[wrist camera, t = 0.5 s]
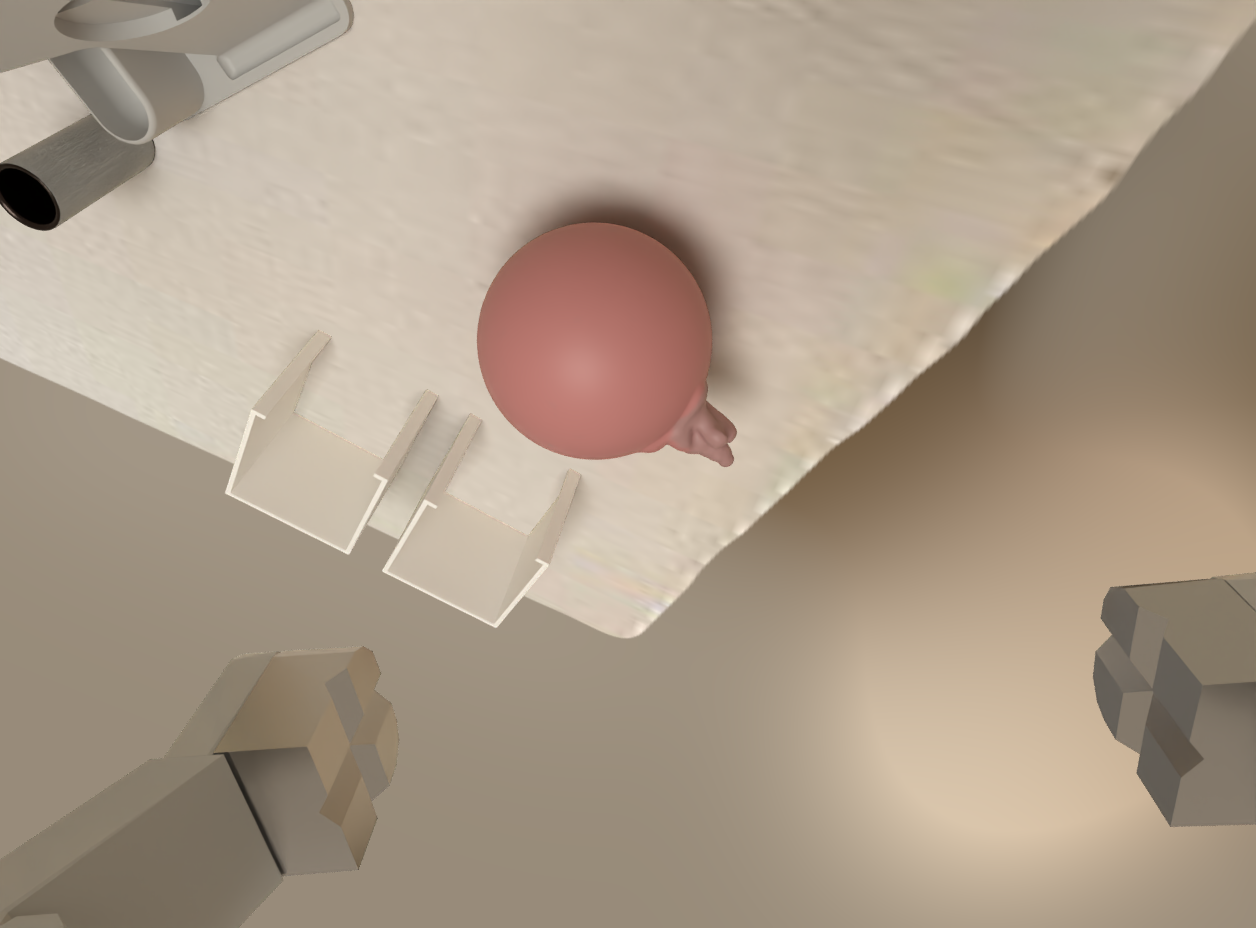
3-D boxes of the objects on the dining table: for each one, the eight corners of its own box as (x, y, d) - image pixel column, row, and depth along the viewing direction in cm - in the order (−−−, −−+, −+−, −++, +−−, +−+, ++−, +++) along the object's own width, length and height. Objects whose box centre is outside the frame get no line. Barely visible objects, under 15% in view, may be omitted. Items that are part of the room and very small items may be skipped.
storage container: (290, 411, 77) (225, 493, 69) (320, 328, 70) (251, 409, 62) (530, 538, 83) (496, 628, 75) (581, 472, 75) (549, 564, 67)
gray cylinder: (142, 109, 60) (40, 167, 52) (164, 171, 63) (71, 235, 56) (84, 102, 61) (-25, 159, 53) (109, 165, 64) (9, 227, 56)
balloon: (672, 438, 70) (638, 577, 59) (477, 282, 64) (397, 405, 53) (814, 329, 61) (806, 470, 50) (603, 134, 55) (538, 246, 44)
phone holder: (177, 124, 60) (-11, 242, 47) (66, -24, 55) (-182, 63, 42) (362, 22, 53) (202, 128, 40) (256, -160, 48) (29, -107, 35)
